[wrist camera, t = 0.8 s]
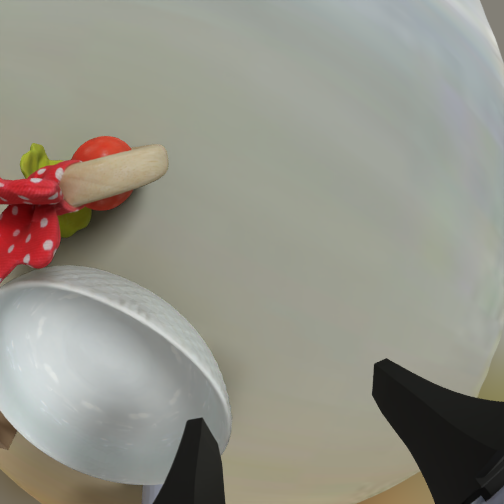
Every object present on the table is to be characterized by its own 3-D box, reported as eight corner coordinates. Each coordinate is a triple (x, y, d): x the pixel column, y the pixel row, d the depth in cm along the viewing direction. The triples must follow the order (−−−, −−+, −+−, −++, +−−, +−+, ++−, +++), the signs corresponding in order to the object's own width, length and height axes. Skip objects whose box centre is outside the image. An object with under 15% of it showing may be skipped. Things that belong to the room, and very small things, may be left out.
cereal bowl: (267, 360, 21) (293, 429, 14) (134, 442, 22) (127, 499, 15) (98, 185, 15) (40, 199, 9) (-4, 328, 16) (-45, 373, 9)
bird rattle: (133, 117, 16) (7, 158, 12) (195, 35, 7) (-70, 115, 3) (152, 206, 18) (30, 251, 14) (233, 215, 9) (-28, 318, 5)
